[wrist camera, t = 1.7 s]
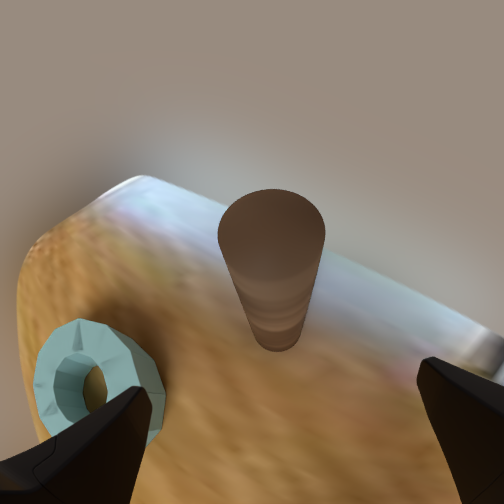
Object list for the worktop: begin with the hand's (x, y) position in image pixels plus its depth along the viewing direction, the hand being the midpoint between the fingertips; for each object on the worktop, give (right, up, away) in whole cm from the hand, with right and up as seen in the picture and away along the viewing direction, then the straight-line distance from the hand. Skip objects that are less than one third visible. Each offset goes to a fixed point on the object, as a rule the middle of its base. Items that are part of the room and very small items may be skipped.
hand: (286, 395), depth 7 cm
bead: (-13, -8, +11) cm, 19 cm away
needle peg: (+1, -2, +13) cm, 13 cm away
